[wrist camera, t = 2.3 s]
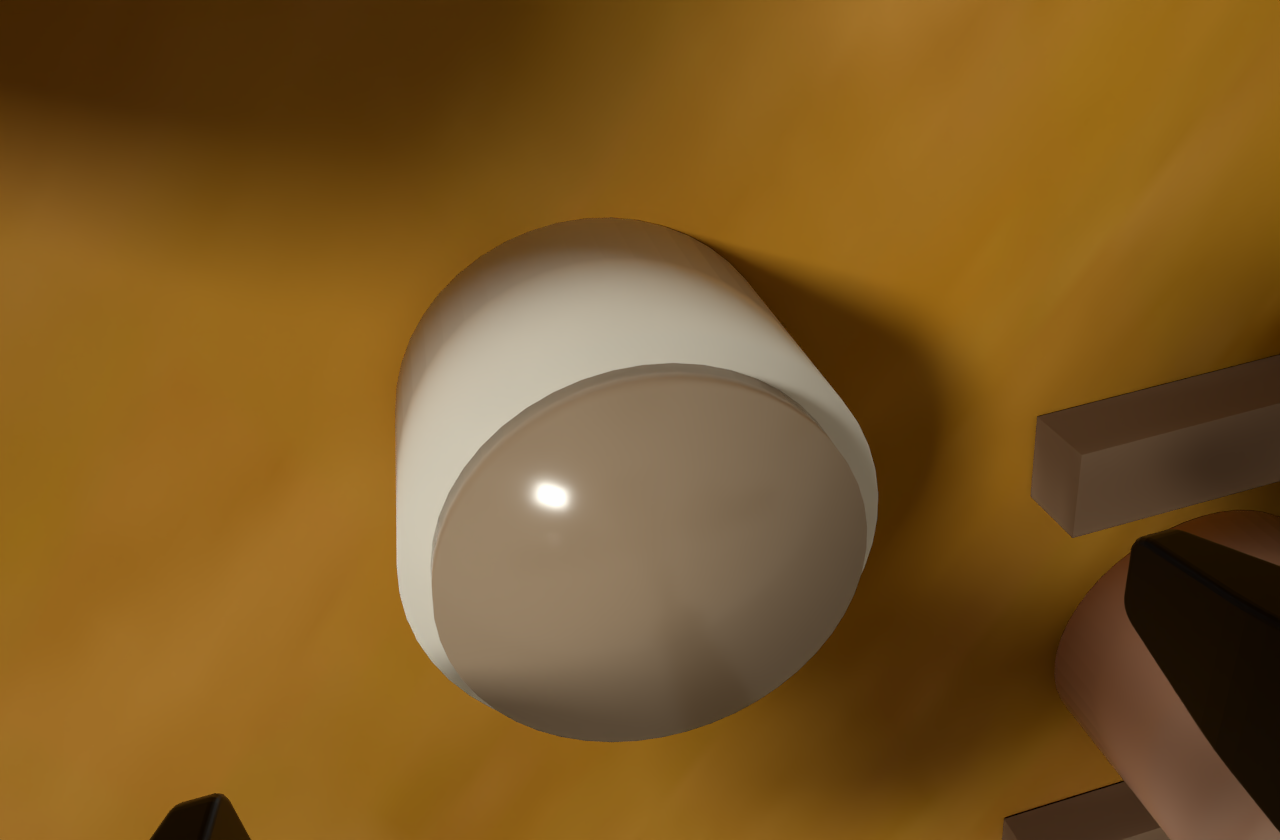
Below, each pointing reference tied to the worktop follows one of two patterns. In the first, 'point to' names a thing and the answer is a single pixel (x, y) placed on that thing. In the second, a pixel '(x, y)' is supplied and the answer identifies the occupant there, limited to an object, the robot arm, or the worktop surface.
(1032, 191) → the worktop surface
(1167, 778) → the pink rounded piece
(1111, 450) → the lane
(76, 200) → the worktop surface
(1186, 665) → the robot arm
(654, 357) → the cream jar
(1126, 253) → the worktop surface
